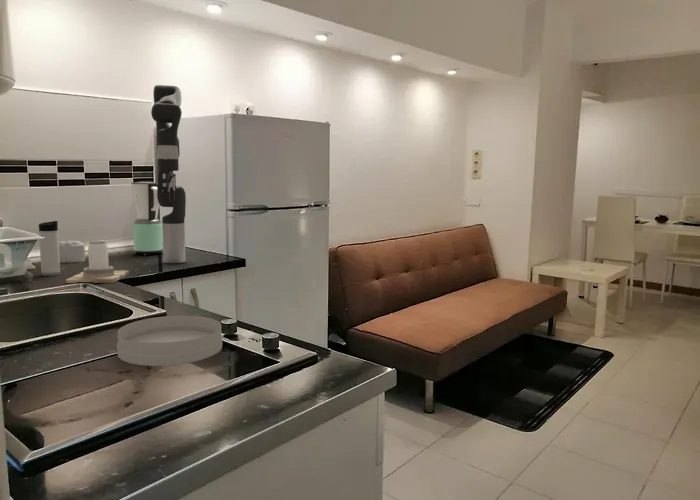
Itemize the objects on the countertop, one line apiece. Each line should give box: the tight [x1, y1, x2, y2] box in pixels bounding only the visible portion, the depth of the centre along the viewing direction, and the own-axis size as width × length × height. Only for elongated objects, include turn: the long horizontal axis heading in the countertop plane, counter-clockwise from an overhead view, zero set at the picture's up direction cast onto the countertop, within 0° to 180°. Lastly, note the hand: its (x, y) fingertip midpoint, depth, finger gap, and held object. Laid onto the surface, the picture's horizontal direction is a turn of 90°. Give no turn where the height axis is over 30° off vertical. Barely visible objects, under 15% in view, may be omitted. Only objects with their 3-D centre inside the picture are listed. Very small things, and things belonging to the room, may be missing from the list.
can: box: [87, 241, 110, 270], centre depth 197 cm, size 6×6×12 cm
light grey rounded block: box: [59, 239, 86, 264], centre depth 236 cm, size 10×13×9 cm
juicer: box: [130, 180, 163, 255], centre depth 258 cm, size 19×13×35 cm
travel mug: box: [38, 220, 61, 277], centre depth 203 cm, size 6×7×20 cm
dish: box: [116, 315, 223, 367], centre depth 119 cm, size 22×22×5 cm
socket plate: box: [65, 265, 130, 284], centre depth 198 cm, size 18×16×4 cm
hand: (169, 201), depth 205 cm, fingers open, 8 cm apart
